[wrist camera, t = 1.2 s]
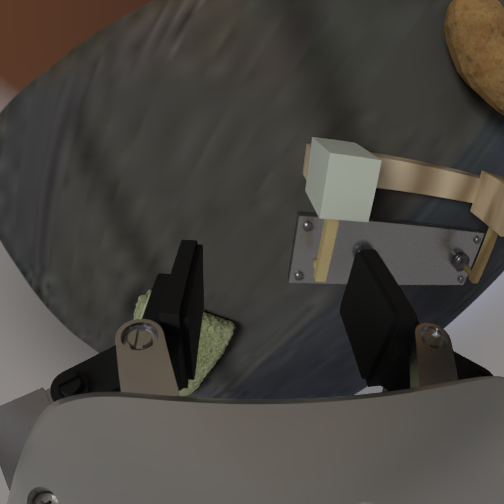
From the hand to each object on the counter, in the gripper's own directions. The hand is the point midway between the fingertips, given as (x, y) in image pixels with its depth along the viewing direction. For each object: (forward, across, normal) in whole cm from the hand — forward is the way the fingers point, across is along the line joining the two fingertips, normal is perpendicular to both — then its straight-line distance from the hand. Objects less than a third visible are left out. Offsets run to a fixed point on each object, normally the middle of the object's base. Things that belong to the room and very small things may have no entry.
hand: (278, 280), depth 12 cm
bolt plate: (+20, -17, +10) cm, 28 cm away
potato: (+20, -22, -15) cm, 33 cm away
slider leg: (+17, -7, +4) cm, 19 cm away
